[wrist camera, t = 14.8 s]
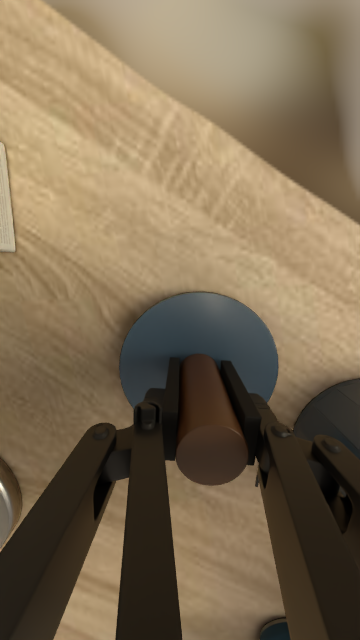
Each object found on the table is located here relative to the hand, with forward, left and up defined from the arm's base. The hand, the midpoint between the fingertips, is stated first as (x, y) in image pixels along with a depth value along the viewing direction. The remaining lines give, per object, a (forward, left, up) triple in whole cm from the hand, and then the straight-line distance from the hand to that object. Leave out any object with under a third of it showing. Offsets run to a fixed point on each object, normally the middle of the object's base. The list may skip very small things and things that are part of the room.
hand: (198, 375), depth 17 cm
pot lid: (0, 0, -1) cm, 1 cm away
